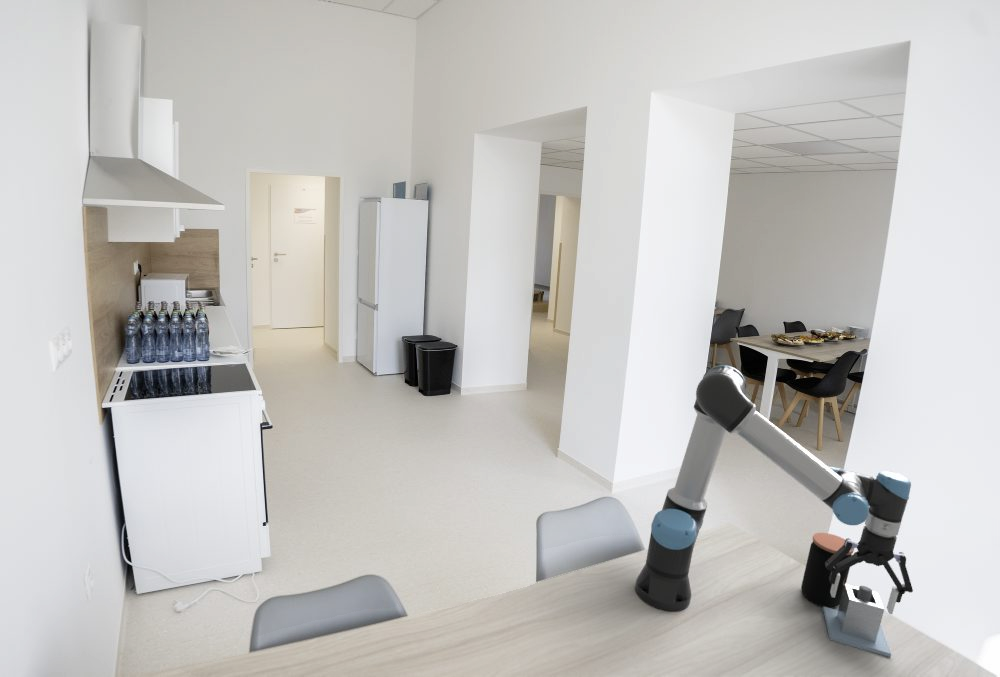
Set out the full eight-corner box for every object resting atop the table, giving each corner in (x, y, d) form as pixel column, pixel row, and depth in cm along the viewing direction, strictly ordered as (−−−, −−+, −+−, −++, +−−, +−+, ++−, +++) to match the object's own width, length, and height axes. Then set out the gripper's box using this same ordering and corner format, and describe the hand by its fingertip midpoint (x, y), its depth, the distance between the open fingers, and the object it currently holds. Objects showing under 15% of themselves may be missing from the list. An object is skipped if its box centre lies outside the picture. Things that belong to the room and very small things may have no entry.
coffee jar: (845, 613, 176) (860, 555, 172) (805, 604, 178) (818, 547, 174) (833, 591, 186) (847, 536, 182) (796, 583, 188) (808, 529, 184)
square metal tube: (841, 633, 165) (849, 599, 163) (836, 615, 172) (844, 583, 170) (875, 642, 162) (884, 608, 160) (869, 624, 170) (877, 592, 168)
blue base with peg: (829, 639, 163) (840, 595, 161) (822, 609, 176) (832, 568, 173) (890, 657, 159) (902, 612, 156) (878, 625, 172) (889, 583, 169)
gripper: (829, 523, 162) (811, 595, 166) (940, 551, 154) (917, 626, 158) (825, 511, 169) (808, 580, 173) (931, 537, 161) (910, 609, 165)
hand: (860, 602), depth 166 cm, fingers open, 13 cm apart
